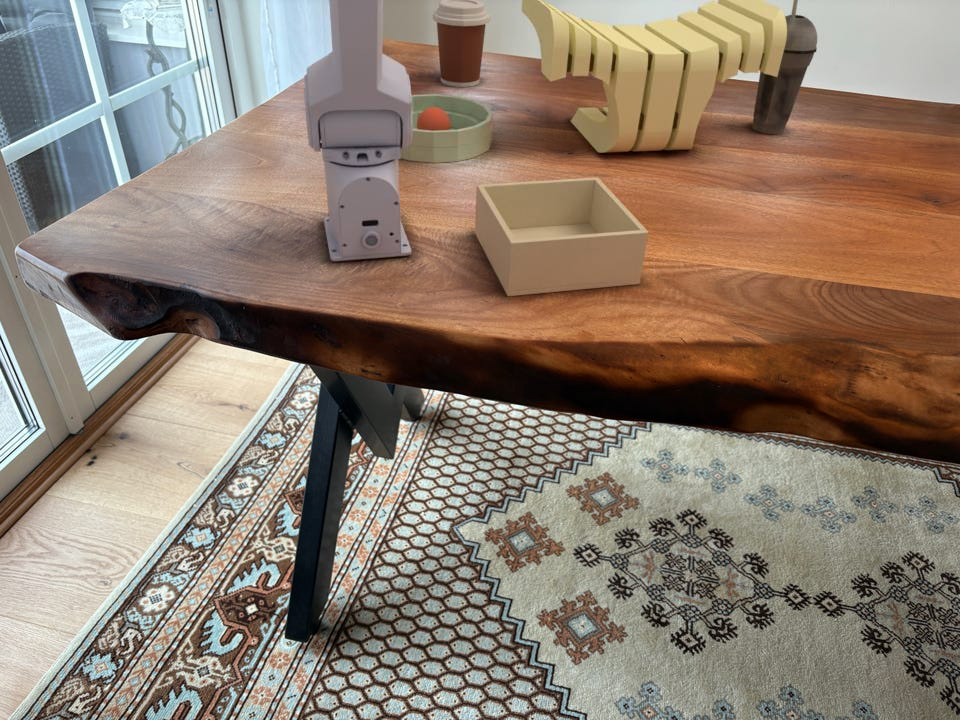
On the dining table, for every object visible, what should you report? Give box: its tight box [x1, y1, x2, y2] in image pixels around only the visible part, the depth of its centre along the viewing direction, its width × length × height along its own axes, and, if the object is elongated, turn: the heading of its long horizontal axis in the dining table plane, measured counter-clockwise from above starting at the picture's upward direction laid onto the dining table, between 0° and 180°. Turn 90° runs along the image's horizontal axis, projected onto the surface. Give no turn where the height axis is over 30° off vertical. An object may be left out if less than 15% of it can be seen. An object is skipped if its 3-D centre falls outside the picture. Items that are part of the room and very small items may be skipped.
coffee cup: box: [432, 0, 491, 88], centre depth 124 cm, size 9×9×12 cm
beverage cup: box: [751, 0, 818, 135], centre depth 107 cm, size 7×7×20 cm
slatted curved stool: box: [521, 0, 787, 154], centre depth 102 cm, size 30×16×18 cm, turn 101°
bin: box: [474, 176, 649, 297], centre depth 76 cm, size 13×13×6 cm
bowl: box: [400, 93, 494, 164], centre depth 101 cm, size 15×15×4 cm
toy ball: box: [417, 107, 450, 131], centre depth 101 cm, size 4×4×4 cm
